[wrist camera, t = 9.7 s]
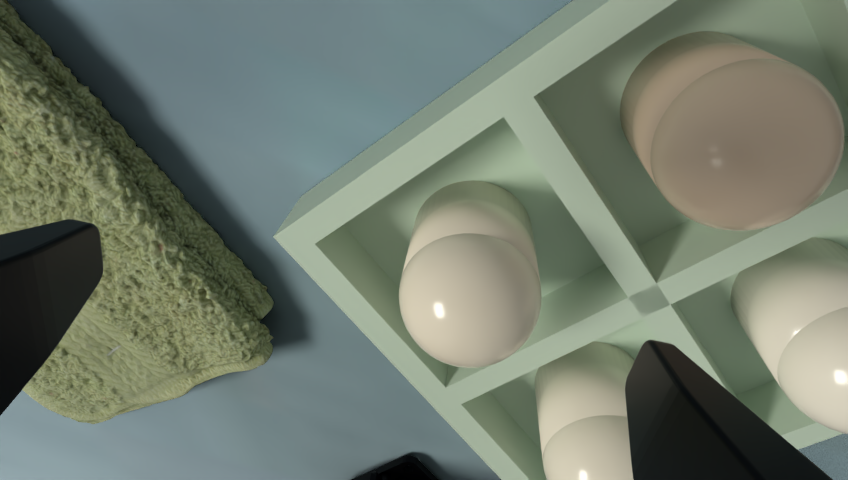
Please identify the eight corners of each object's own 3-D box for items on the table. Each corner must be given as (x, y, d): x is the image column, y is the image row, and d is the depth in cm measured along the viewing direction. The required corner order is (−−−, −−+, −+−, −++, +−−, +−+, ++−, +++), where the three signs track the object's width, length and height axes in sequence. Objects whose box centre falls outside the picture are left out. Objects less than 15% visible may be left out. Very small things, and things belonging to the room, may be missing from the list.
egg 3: (878, 304, 21) (1013, 434, 16) (758, 354, 23) (843, 488, 17) (835, 215, 20) (968, 325, 14) (710, 275, 21) (787, 395, 16)
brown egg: (732, 178, 19) (826, 276, 14) (602, 156, 19) (647, 246, 14) (790, 43, 17) (929, 99, 12) (645, 20, 17) (718, 63, 12)
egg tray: (960, 308, 22) (1033, 366, 19) (546, 473, 28) (553, 535, 25) (772, -144, 16) (836, -159, 13) (300, 196, 22) (273, 236, 19)
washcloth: (107, 413, 30) (67, 463, 27) (-203, 123, 23) (-298, 150, 20) (306, 321, 26) (284, 369, 23) (-2, -63, 19) (-86, -61, 16)
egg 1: (554, 249, 21) (578, 359, 16) (458, 303, 23) (449, 419, 17) (488, 157, 20) (489, 243, 14) (390, 221, 21) (357, 321, 16)
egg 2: (660, 395, 24) (711, 531, 19) (568, 434, 26) (590, 570, 20) (609, 324, 23) (647, 449, 17) (514, 370, 24) (522, 497, 19)
